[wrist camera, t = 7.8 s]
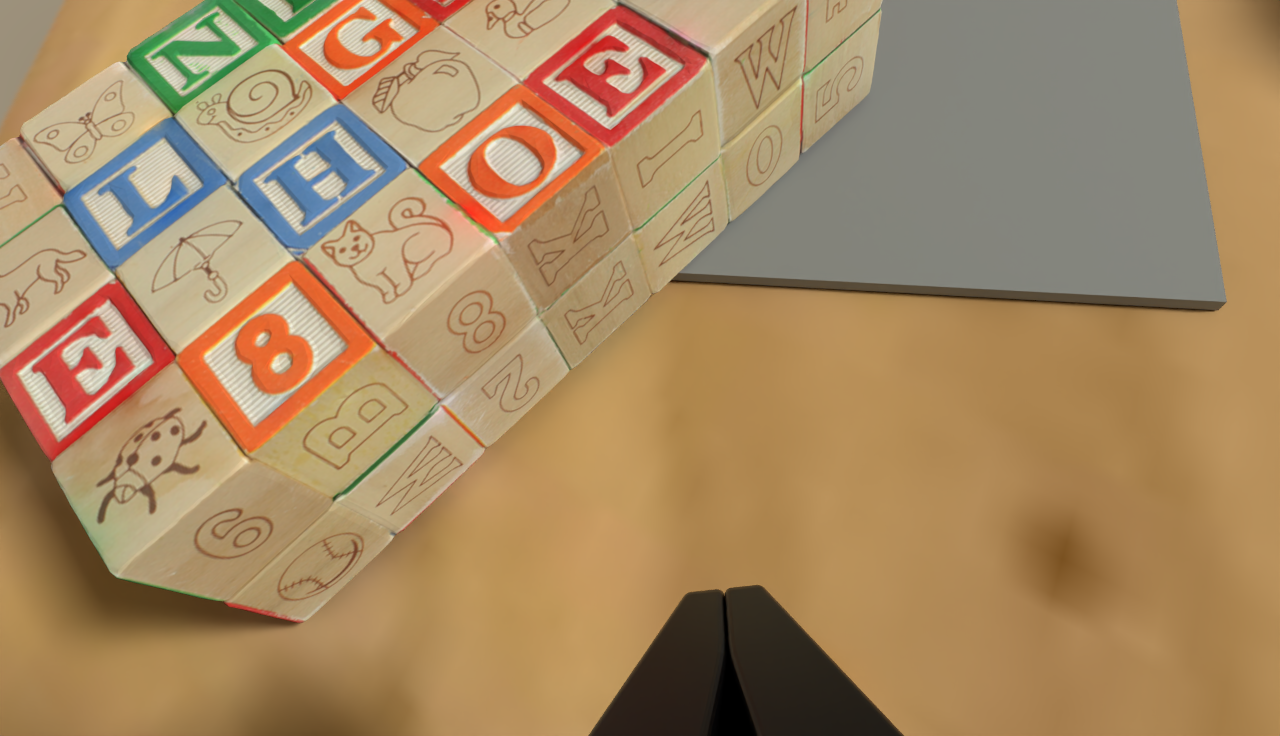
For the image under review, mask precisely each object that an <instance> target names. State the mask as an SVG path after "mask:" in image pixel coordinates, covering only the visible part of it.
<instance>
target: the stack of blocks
mask: <svg viewBox="0 0 1280 736" xmlns="http://www.w3.org/2000/svg"><path fill="white" fill-rule="evenodd" d="M882 1H883V0H204V1H203V2H201V3H200V4H198V5H197V6H196V7H194V8H193V9H191V10H190V11H188V12H187V13H185V14H184V15H182V16H181V17H179V18H177V19H176V20H174V21H173V22H171V23H170V24H168V25H167V26H166V27H164V28H163V29H161V30H160V31H158V32H157V33H155V34H153V35H152V36H150V37H148V38H147V39H145V40H144V41H143V42H141V43H140V44H139V45H137V46H136V47H134V48H132V49H131V50H130V52H129V53H128V55H127V61H126V62H117V63H114V64H112V65H111V66H109V67H108V68H106V69H105V70H103V71H102V72H100V73H99V74H97V75H95V76H94V77H92V78H91V79H89V80H88V81H86V82H85V83H83V84H82V85H80V86H79V87H77V88H76V89H75V90H73V91H72V92H70V93H69V94H67V95H66V96H64V97H63V98H62V99H60V100H59V101H57V102H55V103H54V104H52V105H50V106H49V107H47V108H46V109H45V110H43V111H42V112H41V113H39V114H38V115H36V116H35V117H33V118H32V119H30V120H29V121H27V122H25V123H24V124H23V126H22V127H21V131H20V137H17V138H12V139H10V140H9V141H7V142H6V143H4V144H3V145H2V146H0V379H1V381H2V383H3V385H4V387H5V388H6V390H7V392H8V394H9V395H10V397H11V399H12V401H13V402H14V404H15V406H16V407H17V409H18V411H19V412H20V414H21V416H22V417H23V419H24V421H25V423H26V424H27V426H28V428H29V429H30V431H31V432H32V434H33V436H34V437H35V439H36V441H37V442H38V444H39V446H40V447H41V449H42V451H43V452H44V454H45V455H46V456H47V458H48V459H49V460H50V462H51V463H52V465H51V469H52V471H53V473H54V475H55V477H56V479H57V481H58V483H59V485H60V487H61V488H62V490H63V491H64V493H65V495H66V497H67V499H68V501H69V503H70V505H71V507H72V508H73V510H74V512H75V513H76V515H77V516H78V518H79V520H80V522H81V524H82V526H83V527H84V529H85V531H86V533H87V534H88V536H89V538H90V539H91V541H92V543H93V544H94V546H95V548H96V549H97V551H98V553H99V555H100V556H101V558H102V560H103V561H104V563H105V564H106V566H107V568H108V569H109V571H110V572H111V573H112V574H113V575H114V576H115V577H116V578H118V579H122V580H126V581H130V582H134V583H138V584H143V585H147V586H152V587H156V588H161V589H165V590H170V591H174V592H178V593H182V594H186V595H190V596H195V597H199V598H203V599H209V600H215V601H223V602H224V603H225V604H226V605H227V606H229V607H234V608H239V609H242V610H246V611H250V612H254V613H258V614H262V615H268V616H271V617H274V618H279V619H284V620H288V621H292V622H298V623H302V622H304V621H306V620H307V619H309V618H310V617H311V616H312V615H313V614H315V613H316V612H317V611H318V610H319V609H320V608H321V607H322V606H323V605H325V604H326V603H327V602H328V601H329V600H330V599H331V598H332V597H333V596H334V595H335V594H336V593H337V592H338V591H339V590H341V589H342V588H343V587H344V586H345V585H346V584H347V583H348V582H349V581H350V580H351V579H352V578H353V577H354V576H356V575H357V574H358V573H359V572H360V571H361V570H362V569H363V568H364V567H365V566H366V565H367V564H368V563H370V562H371V561H372V560H373V559H374V558H375V557H376V556H377V555H378V554H379V553H380V552H381V551H382V550H383V549H384V548H385V547H386V546H387V545H388V544H389V543H390V542H391V541H392V539H393V537H394V536H395V535H396V534H397V533H399V532H401V531H403V530H404V529H405V528H406V527H407V526H408V525H409V524H410V523H411V522H412V521H414V520H415V519H416V518H417V517H418V516H419V515H420V514H421V513H422V512H423V511H424V510H425V509H426V508H427V507H428V506H429V505H430V504H432V503H433V502H434V501H435V500H436V499H437V498H438V497H439V496H440V495H441V494H442V493H443V492H444V491H445V490H446V489H447V488H448V487H449V486H451V485H452V484H453V483H454V482H455V481H456V480H457V479H458V478H459V477H460V476H461V475H462V474H463V473H464V472H465V471H466V470H467V469H468V468H469V467H470V466H471V465H472V464H473V463H474V462H475V461H476V460H477V459H478V458H479V457H480V456H481V455H482V454H483V453H484V451H485V448H487V447H488V446H490V445H491V444H493V443H494V442H495V441H497V440H498V439H499V438H500V437H501V436H502V435H503V434H504V433H505V432H506V431H507V430H508V429H510V428H511V427H512V426H513V425H514V424H515V423H516V422H517V421H518V420H519V419H520V418H521V417H522V416H523V415H524V414H525V413H527V412H528V411H529V410H530V409H531V408H532V407H533V406H534V405H535V404H536V403H537V402H538V401H539V400H540V399H541V398H543V397H544V396H545V395H546V394H547V393H548V392H549V391H550V390H551V389H552V388H553V387H554V386H555V385H556V384H557V383H558V382H559V381H560V380H561V379H563V378H564V377H565V376H566V374H567V373H568V372H569V371H570V370H571V369H573V368H574V367H576V366H577V365H578V364H579V363H580V362H581V361H583V360H584V359H585V358H586V357H587V356H588V355H589V354H590V353H591V352H592V351H593V350H594V349H596V348H597V347H598V346H599V345H600V344H601V343H602V342H603V341H604V340H605V339H606V338H607V337H608V336H609V335H610V334H612V333H613V332H614V331H615V330H616V329H617V328H618V327H619V326H620V325H621V324H622V323H624V322H625V321H626V320H627V319H628V318H629V317H630V316H631V315H632V314H633V313H634V312H635V311H636V310H637V309H638V308H639V307H641V306H642V305H643V304H644V303H645V302H646V301H647V300H648V298H649V297H650V296H651V294H654V293H657V292H659V291H660V290H661V289H662V288H663V287H664V286H665V285H666V284H667V283H668V282H669V281H670V280H671V279H673V278H674V277H675V276H676V275H677V274H678V273H679V272H680V271H681V270H682V269H683V268H684V267H685V266H686V265H687V264H688V263H690V262H691V261H692V260H693V259H694V258H695V257H696V256H697V255H698V254H699V253H700V252H701V251H702V250H703V249H705V248H706V247H707V246H708V245H709V244H710V243H711V242H712V241H713V240H714V239H715V238H716V237H717V236H718V235H719V234H720V233H721V232H722V231H723V230H724V229H725V227H726V226H727V224H728V223H729V222H731V221H733V220H735V219H736V218H737V217H738V216H739V215H741V214H742V213H743V212H744V211H745V210H746V209H748V208H749V207H750V206H751V205H752V204H753V203H754V202H755V201H756V200H758V199H759V198H760V197H761V196H762V195H763V194H764V193H765V192H766V191H767V190H768V189H769V188H770V187H771V186H772V185H773V184H774V183H775V182H776V181H778V180H779V179H780V178H781V177H782V176H783V175H784V174H785V173H786V172H787V171H788V170H789V169H790V168H791V167H792V166H793V165H794V164H795V163H796V162H797V161H798V160H799V155H800V154H801V153H804V152H806V151H807V150H808V149H809V148H810V147H811V146H812V145H813V144H814V143H815V142H816V141H817V140H819V139H820V138H821V137H822V136H823V135H824V134H825V133H826V132H827V131H829V130H830V129H831V128H832V127H833V126H834V125H835V124H836V123H837V122H839V121H840V120H841V119H842V118H843V117H844V116H845V115H846V114H847V113H848V112H850V111H851V110H852V109H853V108H854V107H855V106H856V105H857V104H858V103H860V102H861V101H862V100H863V99H864V98H865V97H866V96H867V95H868V94H869V92H870V88H871V84H872V77H873V70H874V64H875V56H876V48H877V42H878V36H879V27H880V21H881V13H882V12H881V8H880V7H881V4H882Z"/></svg>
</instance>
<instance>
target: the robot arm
mask: <svg viewBox="0 0 1280 736" xmlns="http://www.w3.org/2000/svg"><path fill="white" fill-rule="evenodd" d="M589 736H904V735H903V734H902V733H901V732H900V731H899V730H898V729H897V728H896V727H895V726H894V725H893V724H892V723H891V722H890V720H889V719H888V718H887V717H886V716H885V715H884V714H883V713H882V712H881V711H880V710H879V709H878V708H877V707H876V706H875V705H874V704H873V702H872V701H871V700H870V699H869V698H868V697H867V696H866V695H865V694H864V693H863V692H862V691H861V690H860V689H859V688H858V687H857V686H856V684H855V683H854V682H853V681H852V680H851V679H850V678H849V677H848V676H847V675H846V674H845V673H844V672H843V671H842V670H841V669H840V668H839V667H838V665H837V664H836V663H835V662H834V661H833V660H832V659H831V658H830V657H829V656H828V655H827V654H826V653H825V652H824V651H823V650H822V649H821V647H820V646H819V645H818V644H817V643H816V642H815V641H814V640H813V639H812V638H811V637H810V636H809V635H808V634H807V633H806V632H805V631H804V629H803V628H802V627H801V626H800V625H799V624H798V623H797V622H796V621H795V620H794V619H793V618H792V617H791V616H790V615H789V614H788V613H787V611H786V610H785V609H784V608H783V607H782V606H781V605H780V604H779V603H778V602H777V601H776V600H775V599H774V598H773V597H772V596H771V595H770V593H769V592H768V591H767V590H766V589H765V588H764V587H762V586H760V585H752V586H743V587H734V588H729V589H728V590H726V592H725V596H724V593H723V592H722V591H721V590H717V589H715V590H706V591H696V592H689V593H687V594H686V595H685V596H684V597H683V598H682V600H681V601H680V603H679V604H678V606H677V607H676V609H675V610H674V611H673V613H672V614H671V616H670V617H669V619H668V620H667V622H666V623H665V625H664V626H663V628H662V629H661V630H660V632H659V633H658V635H657V636H656V638H655V639H654V641H653V642H652V644H651V645H650V647H649V648H648V649H647V651H646V652H645V654H644V655H643V657H642V658H641V660H640V661H639V663H638V664H637V666H636V667H635V668H634V670H633V671H632V673H631V674H630V676H629V677H628V679H627V680H626V682H625V683H624V685H623V686H622V687H621V689H620V690H619V692H618V693H617V695H616V696H615V698H614V699H613V701H612V702H611V704H610V705H609V706H608V708H607V709H606V711H605V712H604V714H603V715H602V717H601V718H600V720H599V721H598V723H597V724H596V725H595V727H594V728H593V730H592V731H591V733H590V734H589Z"/></svg>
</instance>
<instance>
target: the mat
mask: <svg viewBox="0 0 1280 736" xmlns="http://www.w3.org/2000/svg"><path fill="white" fill-rule="evenodd" d="M880 8H881V12H882V13H881V21H880V27H879V36H878V42H877V48H876V56H875V64H874V70H873V77H872V84H871V88H870V92H869V94H868V95H867V96H866V97H865V98H864V99H863V100H862V101H861V102H860V103H858V104H857V105H856V106H855V107H854V108H853V109H852V110H851V111H850V112H848V113H847V114H846V115H845V116H844V117H843V118H842V119H841V120H840V121H839V122H837V123H836V124H835V125H834V126H833V127H832V128H831V129H830V130H829V131H827V132H826V133H825V134H824V135H823V136H822V137H821V138H820V139H819V140H817V141H816V142H815V143H814V144H813V145H812V146H811V147H810V148H809V149H808V150H807V151H806V152H804V153H801V154H800V155H799V160H798V161H797V162H796V163H795V164H794V165H793V166H792V167H791V168H790V169H789V170H788V171H787V172H786V173H785V174H784V175H783V176H782V177H781V178H780V179H779V180H778V181H776V182H775V183H774V184H773V185H772V186H771V187H770V188H769V189H768V190H767V191H766V192H765V193H764V194H763V195H762V196H761V197H760V198H759V199H758V200H756V201H755V202H754V203H753V204H752V205H751V206H750V207H749V208H748V209H746V210H745V211H744V212H743V213H742V214H741V215H739V216H738V217H737V218H736V219H735V220H733V221H731V222H729V223H728V224H727V226H726V227H725V229H724V230H723V231H722V232H721V233H720V234H719V235H718V236H717V237H716V238H715V239H714V240H713V241H712V242H711V243H710V244H709V245H708V246H707V247H706V248H705V249H703V250H702V251H701V252H700V253H699V254H698V255H697V256H696V257H695V258H694V259H693V260H692V261H691V262H690V263H688V264H687V265H686V266H685V267H684V268H683V269H682V270H681V271H680V272H679V273H678V274H677V275H676V276H675V277H674V278H673V279H671V280H680V281H698V282H716V283H734V284H752V285H771V286H789V287H807V288H825V289H843V290H861V291H879V292H898V293H916V294H934V295H952V296H970V297H988V298H1006V299H1025V300H1043V301H1061V302H1079V303H1097V304H1115V305H1133V306H1151V307H1170V308H1188V309H1206V310H1219V309H1220V308H1221V307H1222V306H1223V305H1224V304H1225V303H1226V302H1227V301H1226V295H1225V289H1224V283H1223V277H1222V271H1221V265H1220V259H1219V253H1218V247H1217V241H1216V235H1215V229H1214V223H1213V217H1212V211H1211V205H1210V199H1209V193H1208V187H1207V181H1206V175H1205V169H1204V163H1203V157H1202V151H1201V145H1200V139H1199V133H1198V127H1197V121H1196V115H1195V109H1194V103H1193V97H1192V91H1191V85H1190V79H1189V72H1188V66H1187V60H1186V54H1185V48H1184V42H1183V36H1182V30H1181V24H1180V18H1179V12H1178V6H1177V0H883V1H882V4H881V7H880Z"/></svg>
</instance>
